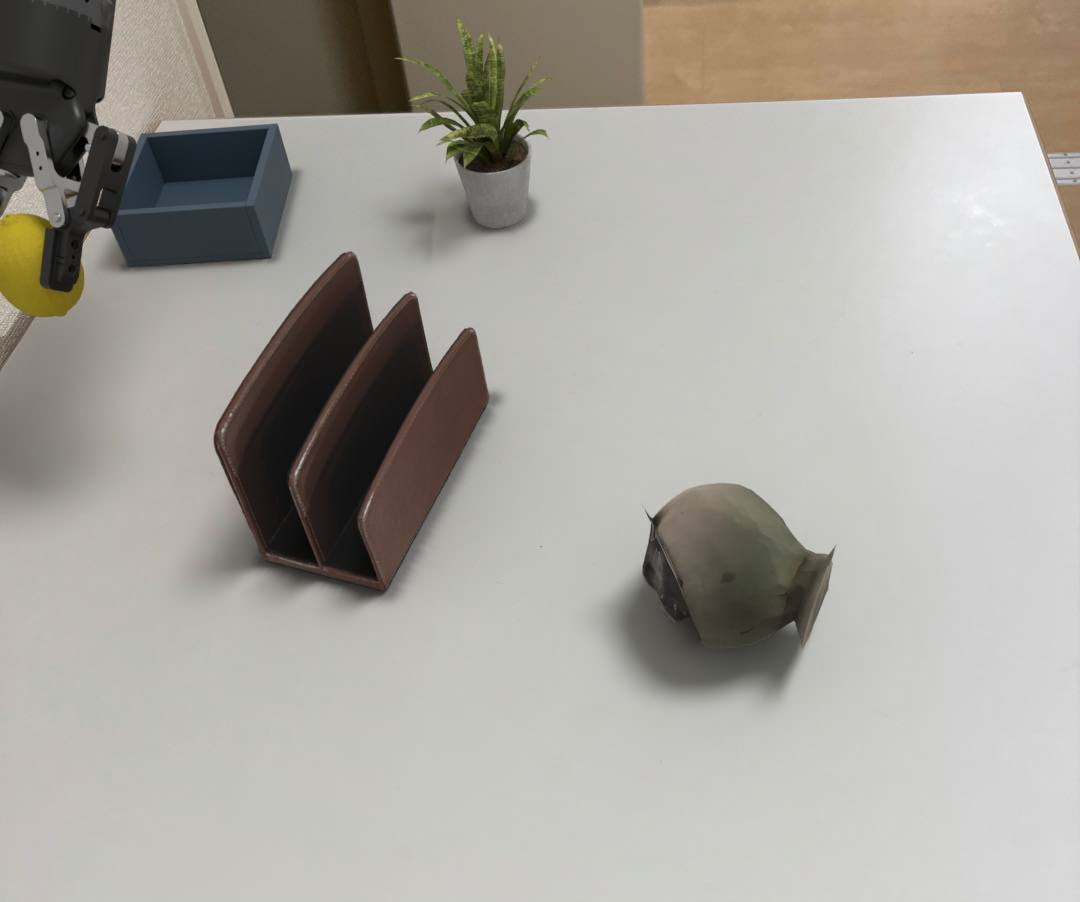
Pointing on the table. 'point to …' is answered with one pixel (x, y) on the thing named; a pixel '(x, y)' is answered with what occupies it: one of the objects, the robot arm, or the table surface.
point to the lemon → (30, 268)
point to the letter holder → (347, 431)
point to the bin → (203, 196)
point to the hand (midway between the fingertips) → (18, 281)
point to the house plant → (487, 136)
